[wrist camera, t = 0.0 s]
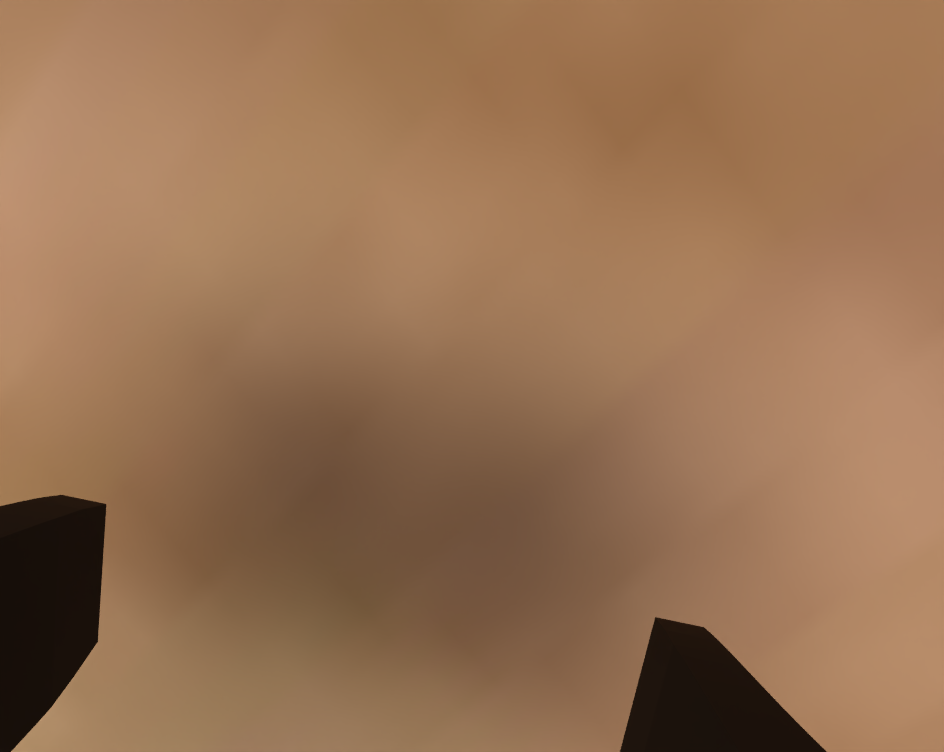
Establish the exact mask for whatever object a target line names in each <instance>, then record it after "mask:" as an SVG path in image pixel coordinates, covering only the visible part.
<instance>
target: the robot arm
mask: <svg viewBox="0 0 944 752" xmlns="http://www.w3.org/2000/svg"><path fill="white" fill-rule="evenodd" d="M105 516H106V504H103V503H98V502H93V501H89V500H84V499H79V498H74V497H69V496H64V495H58V496H50V497H43V498H37V499H32V500H27V501H22V502H17V503H13V504H8V505H4V506H0V752H11V751H12V750H13V749H14V748H15V747H16V745H17V744H18V743H19V742H20V741H21V740H22V739H23V738H24V737H25V736H26V735H27V733H28V732H29V731H30V730H31V729H32V728H33V727H34V726H35V725H36V724H37V723H38V721H39V720H40V719H41V718H42V717H43V716H44V715H45V714H46V712H47V711H48V710H49V709H50V708H51V707H52V705H53V704H54V703H55V701H56V700H57V699H58V697H59V696H60V695H61V693H62V692H63V690H64V689H65V688H66V686H67V685H68V684H69V682H70V681H71V680H72V678H73V677H74V675H75V674H76V673H77V671H78V670H79V668H80V667H81V665H82V664H83V662H84V661H85V659H86V658H87V656H88V655H89V654H90V652H91V651H92V649H93V648H94V646H95V645H96V643H97V642H98V628H99V612H100V596H101V580H102V564H103V548H104V532H105ZM620 752H826V751H825V750H824V749H823V748H822V747H821V746H820V745H819V744H818V743H817V742H816V741H815V740H814V739H813V738H812V737H811V736H810V735H809V734H808V733H807V732H806V731H805V730H804V729H803V728H802V727H801V726H800V725H799V724H798V723H797V722H796V721H795V720H794V719H793V718H792V717H791V716H790V715H789V714H788V713H787V712H786V711H785V710H784V709H783V708H782V707H781V706H780V704H779V703H778V702H777V701H776V700H775V699H774V698H773V697H772V696H771V695H770V694H769V693H768V692H767V691H766V690H765V689H764V688H763V687H762V686H761V685H760V684H759V682H758V681H757V680H756V679H755V678H754V677H753V676H752V675H751V674H750V673H749V672H748V671H747V670H746V669H745V668H744V667H743V666H742V664H741V663H740V662H739V661H738V660H737V659H736V658H735V657H734V656H733V655H732V654H731V653H730V652H729V651H728V650H727V649H726V648H725V647H724V646H723V645H722V644H721V643H720V642H719V641H718V640H717V639H716V638H715V637H714V636H713V635H712V634H711V633H710V632H709V631H707V630H706V629H705V628H704V627H700V626H695V625H690V624H685V623H680V622H676V621H671V620H666V619H661V618H656V617H655V621H654V625H653V628H652V632H651V636H650V640H649V644H648V647H647V651H646V655H645V659H644V663H643V666H642V670H641V674H640V678H639V682H638V686H637V689H636V693H635V697H634V701H633V705H632V708H631V712H630V716H629V720H628V724H627V727H626V731H625V735H624V739H623V743H622V746H621V750H620Z"/></svg>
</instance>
